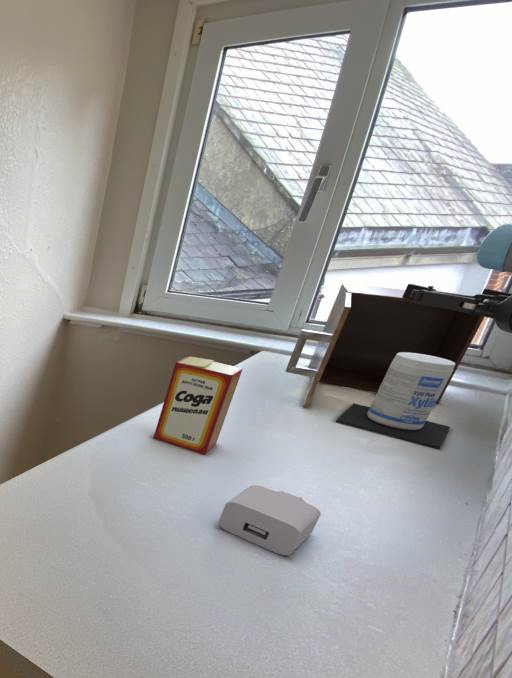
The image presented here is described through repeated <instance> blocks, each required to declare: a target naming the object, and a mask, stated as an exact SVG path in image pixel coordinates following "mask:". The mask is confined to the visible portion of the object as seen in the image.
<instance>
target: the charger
mask: <svg viewBox="0 0 512 678" xmlns="http://www.w3.org/2000/svg"><path fill="white" fill-rule="evenodd" d="M320 517H321V511H320V510H319V509H318V507H316V506H315V505H313V504H310V503H307V502H306V500H304V499H303V498H302V497H299V496H296V495H294V494H291V493H289V492H286V491H281V490H280V491H279V490H276V491H275V490H273V489H270V488H267V487H265V486H262V485H257V484H252V485H249V486H248V487H246V488H245V489H243V490H242V491H241V492H239V493H238V494H237V495H236V496H234V497H232V498H231V499H229V501H227V502H226V503H225V504H224V507H223V509H222V511H221V514H220V518H219V520H218V525H219V526H220V528H222V530H224V531H226V532H228V533H230V534H232V535H235V536H237V537H239V538H242V539H244V540H246V541H248V542H250V543H253V544H254V545H257V546H260V547H261V548H263V549H266V550H268V551H271V552H273V553H275V554H278V555H282V556H290V555H291V554H292V553H293V552H295V550H296V549H297V548H298V547H300V546H301V544H302V543H303V542H304V541H305V540H306V539H307V538H309V536H310V535H311V534H312V533H313V531H314V529H315V527H316V525H317V523H318V521H319V519H320Z"/></svg>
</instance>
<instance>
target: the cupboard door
mask: <svg viewBox="0 0 512 678" xmlns="http://www.w3.org/2000/svg"><path fill="white" fill-rule="evenodd" d="M350 308H351V293H346V295H345V297H344V299H343V302H342V304H341V307H340V309H339V312H338V314H337V316H336V319H335V321H334V324H333V326H332V328H331V331H330V333H322V332H323V331H317V330H316V331H315V330H309V329H301V330H300V331H299V336H298V337H297V340H296V343H295V345H294V347H293V349H292V350H293V351H292V353H291V356H290V358H289V360H288V363H287V366H286V369H285V372H286V373H289V374H293V375H299V376H305V377H310V379H309V382H308V386H307V390H306V394H305V398H304V401H303V405H302V406H303V407H305V408H309V406H310V404H311V403H312V400H313V397H314V395H315V393H316V390H317V388H318V386H319V384H320V383H319V381H320V379H321V376H322V374H323V372H324V369H325V367H326V364H327V362H328V360H329V357H330V355H331V353H332V350H333V348H334V346H335V343H336V341H337V339H338V336H339V334H340V331H341V329H342V327H343V324H344V322H345V320H346V317H347V315H348V313H349V310H350ZM308 340H313V341H325V342H326V343H325V345H324V348H323V350H322V352H321V355H320V357H319V360H318V362H317V364H316V367H315V369H311V368H309V367H306V366H299V365H298V362H299V360H300V357H301V355H302V353H303V350H304V347H305V344H306V343H307V341H308Z"/></svg>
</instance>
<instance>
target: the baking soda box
mask: <svg viewBox="0 0 512 678" xmlns="http://www.w3.org/2000/svg"><path fill="white" fill-rule="evenodd" d="M243 369H244V368H243V367H238V366H235V365H230V364H226V363H221V362H218V361H215V360H214V359H207V358H202V357H197V356H190V355H188V356H185V357H183V358H180V359H179V360H178V361H176V362H175V364H174V367H173V370H172V374H171V377H170V379H169V380H170V381H169V383H168V386H167V387H168V388H167V391H166V394H165V398H164V401H163V404H162V407H161V410H160V414H159V417H158V421H157V424H156V428H155V431H154V434H153V437H152V438H153V439H154V440H158V441H161V442H164V443H167V444H169V445H173V446H176V447H179V448H183V449H186V450H187V451H188V450H189V451H191V452H195V453H197V454H200V455H204V456H205V455H207V454H208V453H209V452H210V451H211V450H212V449H213V448H214V447H215V446H217V442H218V440H219V438H220V434H221V430H222V428H223V425H224V422H225V420H226V416H227V414H228V411H229V408H230V406H231V403H232V400H233V397H234V394H235V392H236V390H237V387H238V384H239V380H240V378H241V375H242V372H243Z"/></svg>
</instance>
